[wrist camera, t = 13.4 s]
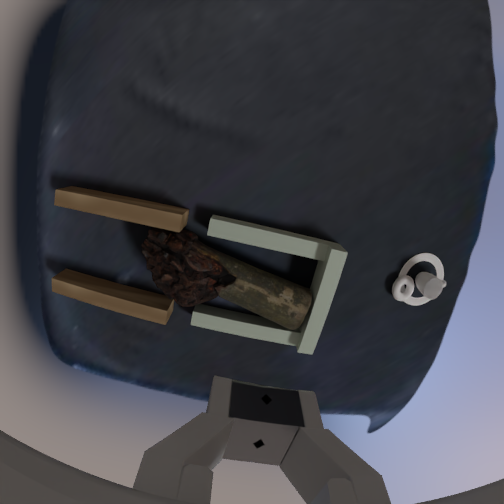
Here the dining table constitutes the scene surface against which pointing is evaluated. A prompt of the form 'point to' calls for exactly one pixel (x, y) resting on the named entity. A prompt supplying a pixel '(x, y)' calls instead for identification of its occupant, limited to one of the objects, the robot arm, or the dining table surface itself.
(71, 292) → the oak channel
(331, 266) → the frame
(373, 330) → the dining table surface
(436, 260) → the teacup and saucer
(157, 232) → the dark piece
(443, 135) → the dining table surface
